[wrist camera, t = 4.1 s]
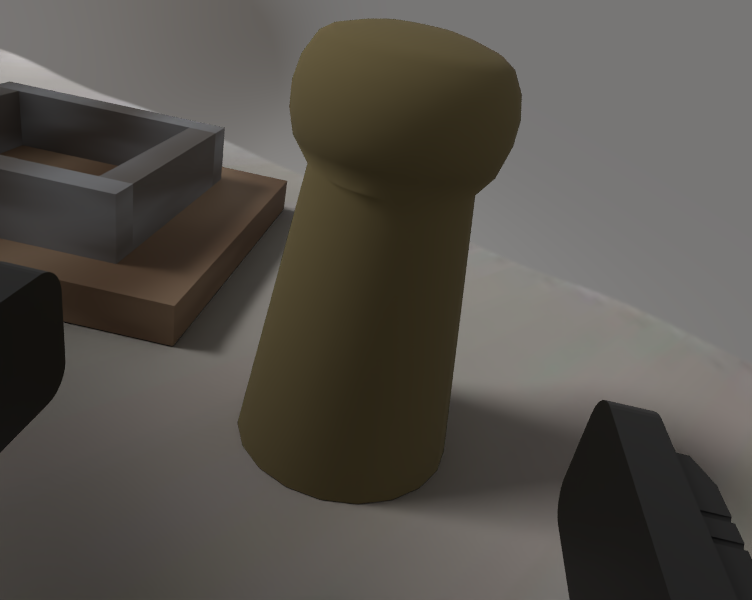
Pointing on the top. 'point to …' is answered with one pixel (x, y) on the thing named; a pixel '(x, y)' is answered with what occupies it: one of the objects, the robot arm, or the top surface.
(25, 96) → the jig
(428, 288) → the cork
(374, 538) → the top surface
